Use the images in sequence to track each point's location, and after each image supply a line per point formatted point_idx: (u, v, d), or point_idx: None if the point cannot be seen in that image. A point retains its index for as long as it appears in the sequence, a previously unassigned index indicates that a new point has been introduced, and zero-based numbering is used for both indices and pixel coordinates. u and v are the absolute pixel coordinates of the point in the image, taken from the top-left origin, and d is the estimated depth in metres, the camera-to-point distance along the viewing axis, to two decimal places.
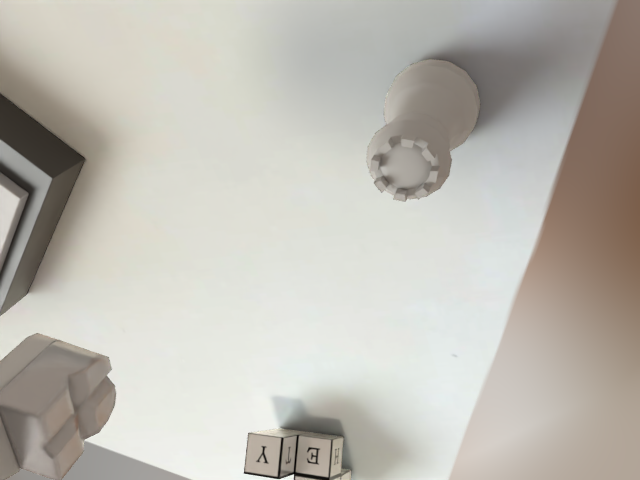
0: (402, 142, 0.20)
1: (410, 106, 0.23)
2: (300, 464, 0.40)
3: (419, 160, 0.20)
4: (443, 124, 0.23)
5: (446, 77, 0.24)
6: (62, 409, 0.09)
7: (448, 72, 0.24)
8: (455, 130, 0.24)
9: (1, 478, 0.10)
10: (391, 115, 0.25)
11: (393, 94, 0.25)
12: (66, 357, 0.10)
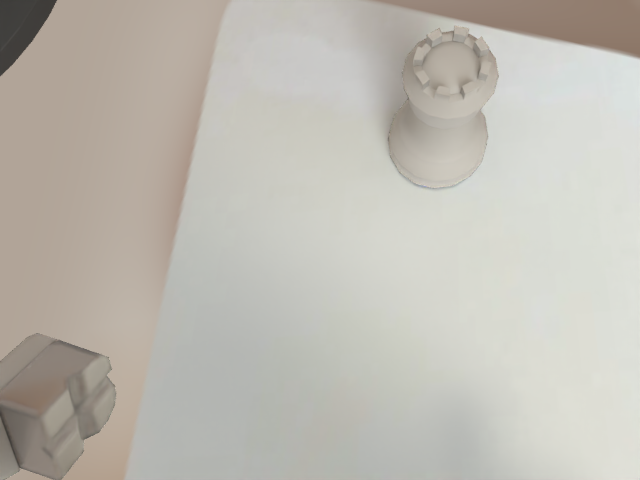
0: (417, 58, 0.18)
1: (412, 116, 0.22)
2: None
3: (443, 49, 0.19)
4: None
5: (401, 109, 0.25)
6: (62, 409, 0.09)
7: (398, 110, 0.25)
8: None
9: (1, 478, 0.10)
10: (429, 156, 0.23)
11: (410, 160, 0.24)
12: (66, 357, 0.10)
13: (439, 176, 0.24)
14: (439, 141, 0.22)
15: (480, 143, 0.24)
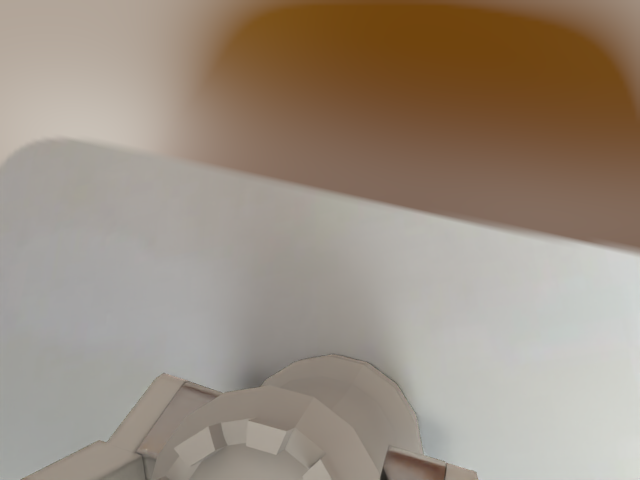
0: None
1: None
2: None
3: (226, 476, 0.07)
4: None
5: None
6: None
7: None
8: (328, 394, 0.11)
9: None
10: None
11: None
12: (201, 401, 0.09)
13: None
14: None
15: None
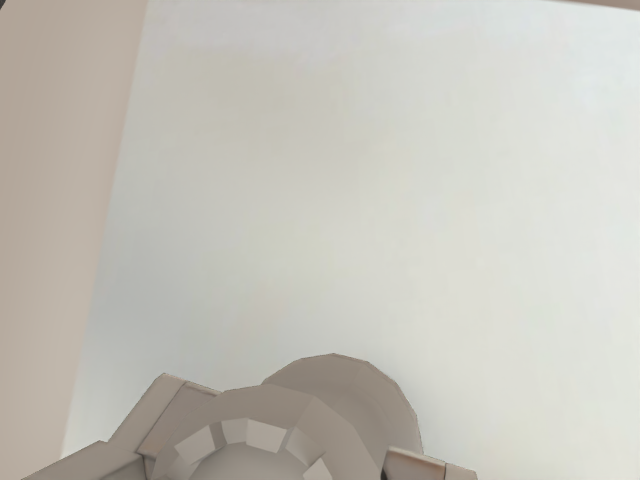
0: None
1: None
2: None
3: (227, 475, 0.07)
4: None
5: None
6: None
7: None
8: (328, 393, 0.11)
9: None
10: None
11: None
12: (202, 401, 0.09)
13: None
14: None
15: None
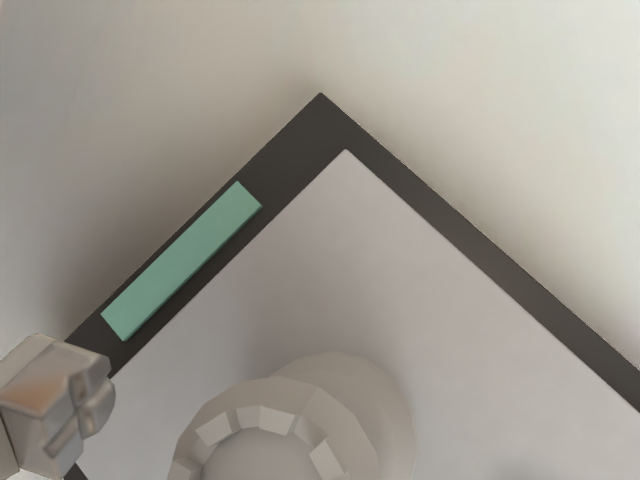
0: None
1: None
2: None
3: (241, 456, 0.08)
4: None
5: None
6: (62, 409, 0.09)
7: None
8: (330, 387, 0.12)
9: (1, 478, 0.10)
10: None
11: None
12: (66, 357, 0.10)
13: None
14: None
15: (399, 476, 0.13)
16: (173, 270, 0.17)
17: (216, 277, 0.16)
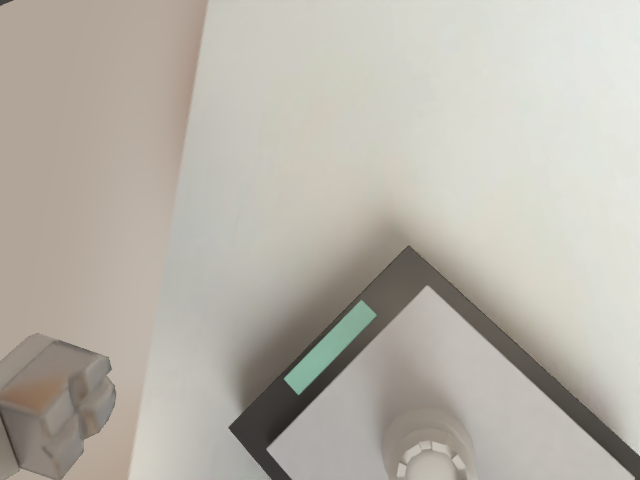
0: (400, 475, 0.20)
1: None
2: None
3: (423, 460, 0.20)
4: None
5: (391, 432, 0.26)
6: (62, 409, 0.09)
7: (389, 430, 0.26)
8: (435, 427, 0.25)
9: (1, 478, 0.10)
10: None
11: None
12: (66, 357, 0.10)
13: None
14: None
15: None
16: (326, 353, 0.30)
17: (355, 359, 0.29)
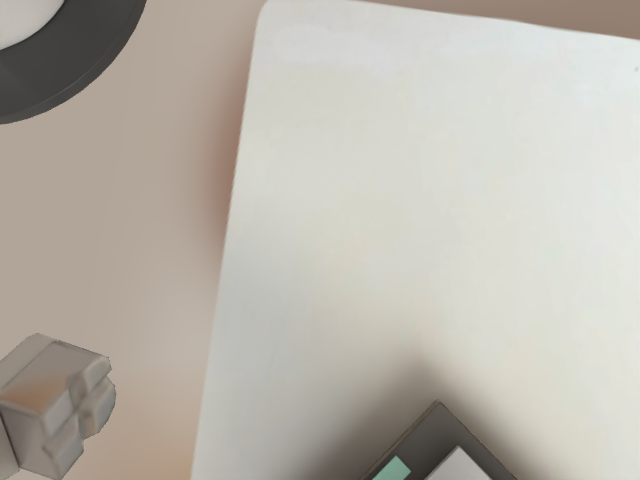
0: None
1: None
2: None
3: None
4: None
5: None
6: (62, 409, 0.09)
7: None
8: None
9: (1, 478, 0.10)
10: None
11: None
12: (66, 357, 0.10)
13: None
14: None
15: None
16: None
17: None
